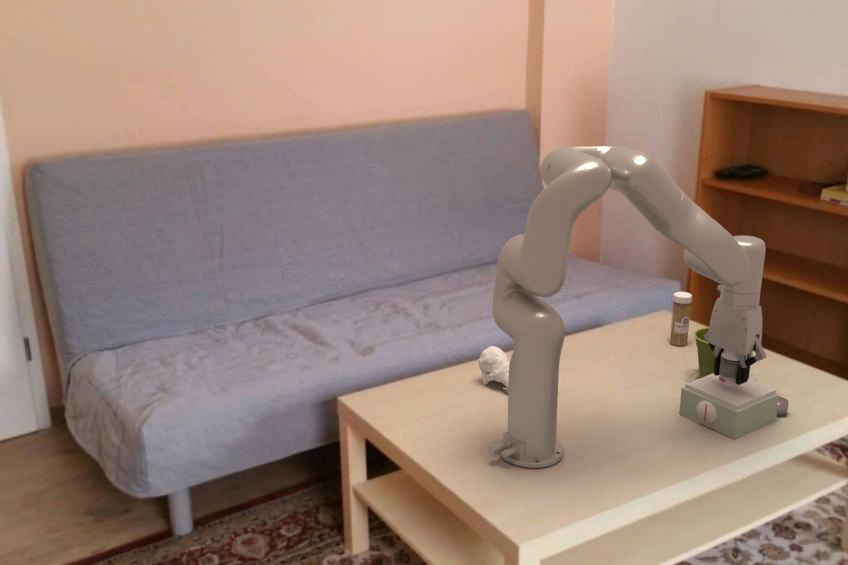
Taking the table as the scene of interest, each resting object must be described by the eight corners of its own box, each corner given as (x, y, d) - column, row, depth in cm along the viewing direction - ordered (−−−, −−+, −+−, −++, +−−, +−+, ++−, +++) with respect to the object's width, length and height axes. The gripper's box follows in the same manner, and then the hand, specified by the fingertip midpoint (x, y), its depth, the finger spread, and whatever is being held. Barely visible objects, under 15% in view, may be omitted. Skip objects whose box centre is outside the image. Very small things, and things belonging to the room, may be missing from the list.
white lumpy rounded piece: (498, 340, 208) (531, 361, 199) (495, 372, 211) (528, 394, 202) (476, 346, 204) (509, 368, 195) (474, 379, 208) (506, 401, 199)
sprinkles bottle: (679, 348, 224) (684, 298, 220) (665, 342, 228) (669, 293, 224) (691, 343, 227) (696, 294, 223) (677, 338, 231) (681, 289, 226)
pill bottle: (743, 387, 184) (748, 350, 181) (719, 385, 184) (724, 348, 182) (740, 378, 188) (745, 341, 185) (717, 376, 189) (721, 339, 186)
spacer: (779, 419, 187) (780, 407, 187) (760, 412, 191) (762, 399, 190) (791, 414, 190) (792, 401, 189) (773, 406, 193) (774, 394, 192)
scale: (732, 439, 179) (735, 408, 177) (677, 414, 190) (679, 384, 188) (775, 420, 187) (779, 389, 185) (720, 396, 198) (723, 367, 196)
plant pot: (753, 383, 205) (758, 338, 201) (720, 396, 198) (725, 349, 195) (711, 366, 214) (715, 322, 210) (678, 378, 207) (682, 333, 204)
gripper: (694, 289, 185) (686, 369, 190) (765, 312, 171) (754, 397, 177) (717, 282, 189) (708, 361, 195) (788, 304, 176) (776, 388, 181)
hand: (730, 377), depth 186 cm, fingers closed on pill bottle, 4 cm apart
